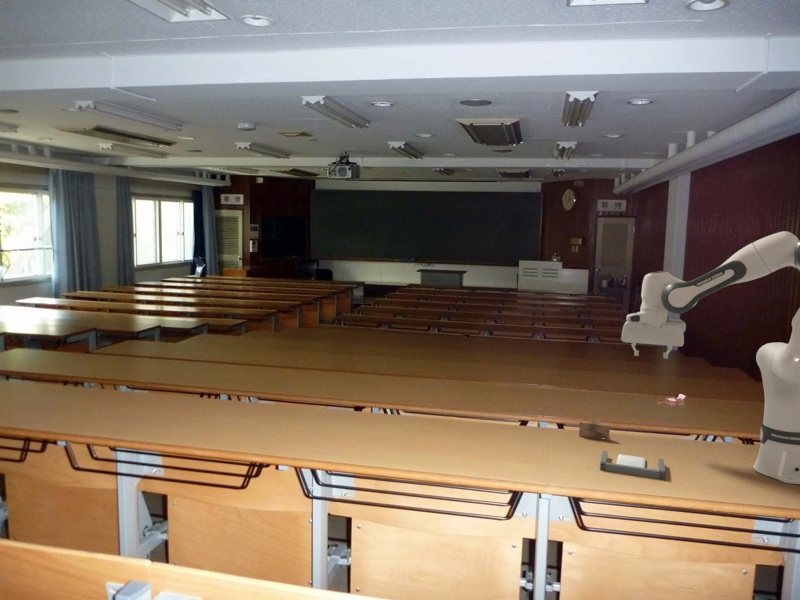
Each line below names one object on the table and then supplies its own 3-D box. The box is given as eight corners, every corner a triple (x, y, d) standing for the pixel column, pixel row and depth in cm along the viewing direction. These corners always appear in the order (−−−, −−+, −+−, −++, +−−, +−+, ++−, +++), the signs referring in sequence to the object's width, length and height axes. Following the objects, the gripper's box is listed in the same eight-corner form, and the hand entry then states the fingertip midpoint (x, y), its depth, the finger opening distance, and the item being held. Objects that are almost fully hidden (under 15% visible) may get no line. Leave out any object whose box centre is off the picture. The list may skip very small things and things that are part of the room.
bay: (663, 465, 190) (663, 459, 190) (664, 479, 179) (665, 472, 178) (602, 456, 197) (602, 450, 196) (600, 469, 185) (600, 463, 185)
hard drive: (644, 470, 182) (645, 457, 194) (615, 466, 186) (618, 453, 197) (644, 475, 183) (645, 462, 194) (615, 471, 186) (617, 458, 197)
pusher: (609, 434, 221) (610, 420, 220) (608, 440, 214) (609, 426, 213) (580, 430, 224) (581, 417, 224) (579, 436, 218) (579, 422, 217)
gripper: (685, 318, 212) (682, 358, 213) (622, 314, 220) (620, 352, 221) (687, 320, 206) (684, 361, 208) (622, 316, 214) (619, 355, 215)
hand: (650, 356), depth 214 cm, fingers open, 8 cm apart
